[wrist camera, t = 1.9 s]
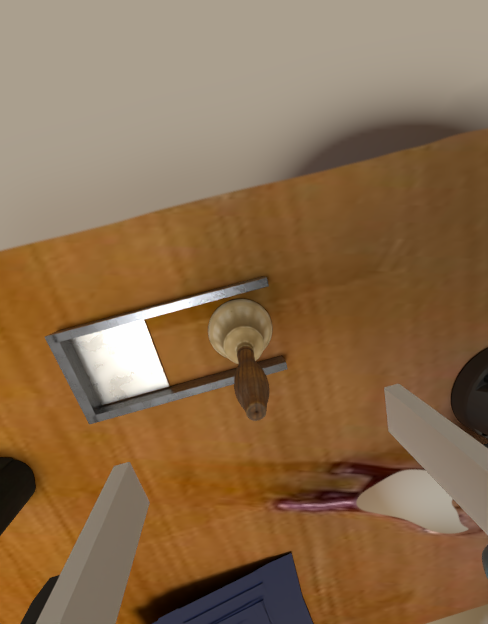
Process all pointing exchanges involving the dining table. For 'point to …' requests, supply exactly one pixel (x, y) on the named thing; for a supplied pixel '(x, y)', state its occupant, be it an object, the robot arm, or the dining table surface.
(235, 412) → the dining table surface
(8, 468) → the sushi
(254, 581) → the navy serving tray
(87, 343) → the guide channel
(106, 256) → the dining table surface
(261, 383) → the hand bell
